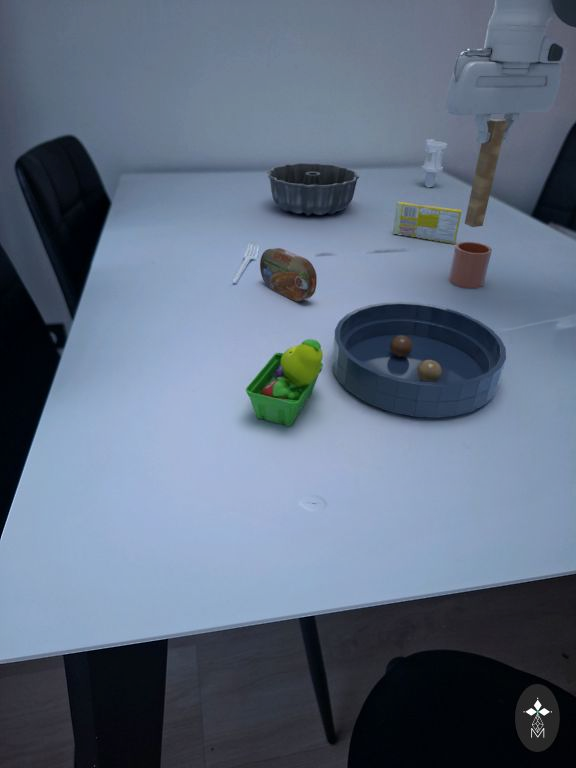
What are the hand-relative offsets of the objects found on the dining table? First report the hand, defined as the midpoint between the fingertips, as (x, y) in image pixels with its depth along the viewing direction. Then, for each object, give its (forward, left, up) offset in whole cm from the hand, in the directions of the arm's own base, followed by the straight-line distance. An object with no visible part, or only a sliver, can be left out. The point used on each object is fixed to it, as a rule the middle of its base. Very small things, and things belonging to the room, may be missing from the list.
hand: (491, 142), depth 93 cm
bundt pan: (+4, -66, -29) cm, 73 cm away
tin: (+33, -12, -29) cm, 46 cm away
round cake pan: (+25, +22, -29) cm, 44 cm away
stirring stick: (0, 0, -14) cm, 14 cm away
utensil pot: (-5, -4, -29) cm, 30 cm away
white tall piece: (-45, -77, -29) cm, 94 cm away
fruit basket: (+47, +24, -29) cm, 60 cm away
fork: (+37, -28, -29) cm, 55 cm away
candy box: (-13, -32, -29) cm, 46 cm away
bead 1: (+25, +18, -27) cm, 40 cm away
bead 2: (+25, +26, -27) cm, 44 cm away
